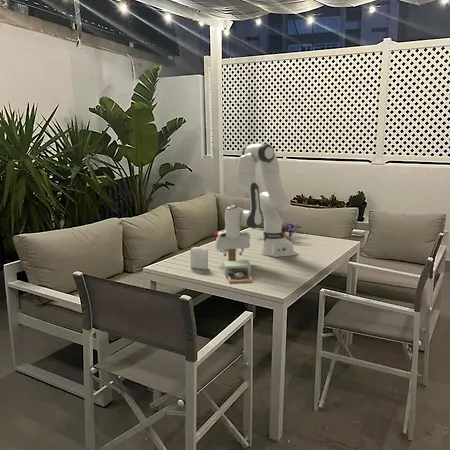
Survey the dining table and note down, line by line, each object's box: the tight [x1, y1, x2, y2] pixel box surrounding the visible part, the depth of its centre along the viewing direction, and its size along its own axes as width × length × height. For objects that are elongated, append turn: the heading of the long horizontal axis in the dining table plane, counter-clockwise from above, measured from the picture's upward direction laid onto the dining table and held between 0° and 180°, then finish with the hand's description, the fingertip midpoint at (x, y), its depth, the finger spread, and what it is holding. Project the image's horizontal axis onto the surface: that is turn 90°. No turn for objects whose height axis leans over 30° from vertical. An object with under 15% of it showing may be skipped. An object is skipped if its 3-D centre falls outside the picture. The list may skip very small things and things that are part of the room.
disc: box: [233, 271, 245, 280], centre depth 241 cm, size 5×5×2 cm
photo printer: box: [190, 246, 209, 270], centre depth 258 cm, size 10×4×12 cm, turn 69°
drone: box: [256, 222, 305, 242], centre depth 330 cm, size 40×10×28 cm
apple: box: [214, 229, 224, 241], centre depth 304 cm, size 11×11×12 cm
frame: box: [226, 274, 253, 284], centre depth 238 cm, size 12×10×1 cm
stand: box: [222, 259, 252, 278], centre depth 249 cm, size 14×10×6 cm
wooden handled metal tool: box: [227, 249, 240, 271], centre depth 264 cm, size 18×4×8 cm, turn 6°
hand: (232, 255), depth 269 cm, fingers open, 8 cm apart
